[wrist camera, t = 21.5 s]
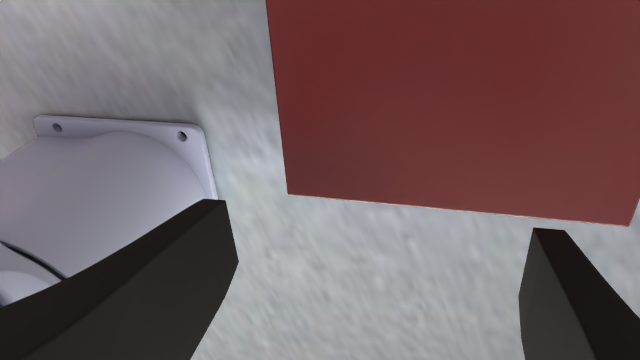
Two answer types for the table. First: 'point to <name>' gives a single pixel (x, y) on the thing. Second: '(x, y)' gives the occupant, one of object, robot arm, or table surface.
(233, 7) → the table surface
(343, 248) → the table surface
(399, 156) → the books
